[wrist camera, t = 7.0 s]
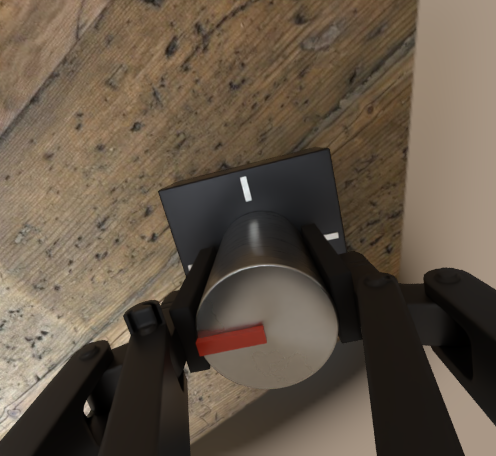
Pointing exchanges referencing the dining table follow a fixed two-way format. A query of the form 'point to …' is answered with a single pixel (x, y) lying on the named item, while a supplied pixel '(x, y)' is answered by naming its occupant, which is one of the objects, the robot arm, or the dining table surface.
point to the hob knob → (265, 306)
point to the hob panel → (254, 200)
